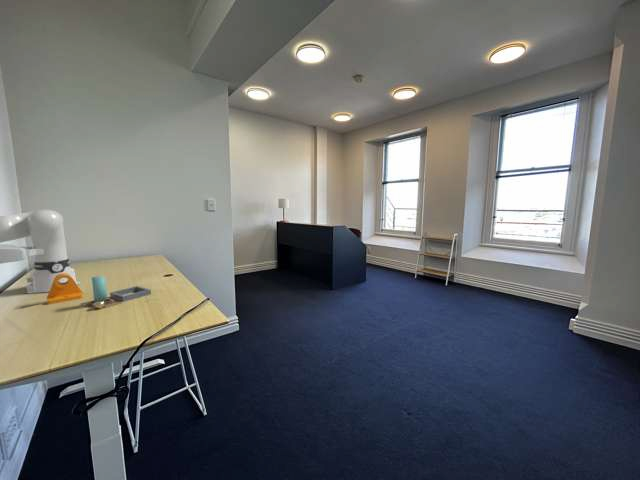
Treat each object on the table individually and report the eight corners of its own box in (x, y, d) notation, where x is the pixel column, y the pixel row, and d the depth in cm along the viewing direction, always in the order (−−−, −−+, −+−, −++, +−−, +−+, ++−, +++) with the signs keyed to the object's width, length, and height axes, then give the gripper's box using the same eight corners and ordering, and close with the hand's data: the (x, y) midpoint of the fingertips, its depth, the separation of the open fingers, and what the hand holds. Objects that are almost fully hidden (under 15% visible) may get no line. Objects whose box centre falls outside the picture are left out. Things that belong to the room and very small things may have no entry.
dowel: (92, 304, 104) (89, 277, 103) (104, 301, 108) (102, 275, 106) (97, 305, 102) (94, 279, 101) (109, 302, 106) (106, 276, 105)
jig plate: (79, 306, 105) (79, 301, 104) (106, 299, 112) (105, 295, 112) (95, 313, 98) (95, 308, 98) (122, 305, 106) (122, 300, 106)
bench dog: (93, 308, 100) (92, 302, 99) (102, 306, 102) (102, 300, 102) (97, 310, 98) (96, 303, 98) (106, 307, 101) (105, 301, 101)
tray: (110, 299, 113) (110, 292, 112) (138, 292, 122) (137, 285, 122) (123, 304, 107) (123, 296, 107) (151, 296, 117) (150, 289, 117)
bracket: (47, 307, 104) (44, 278, 102) (47, 303, 108) (44, 275, 107) (83, 301, 111) (80, 274, 110) (82, 297, 116) (79, 271, 115)
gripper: (-31, 261, 83) (32, 256, 95) (-21, 268, 73) (48, 262, 84) (-33, 241, 83) (30, 239, 95) (-23, 246, 72) (47, 243, 84)
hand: (39, 250), depth 89 cm, fingers open, 8 cm apart
